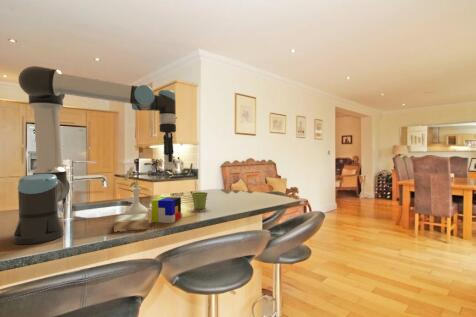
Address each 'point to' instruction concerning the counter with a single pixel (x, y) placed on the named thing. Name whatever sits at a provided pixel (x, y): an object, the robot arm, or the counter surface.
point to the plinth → (131, 222)
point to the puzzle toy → (166, 209)
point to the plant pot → (199, 200)
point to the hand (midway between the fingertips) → (168, 168)
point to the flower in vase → (135, 198)
